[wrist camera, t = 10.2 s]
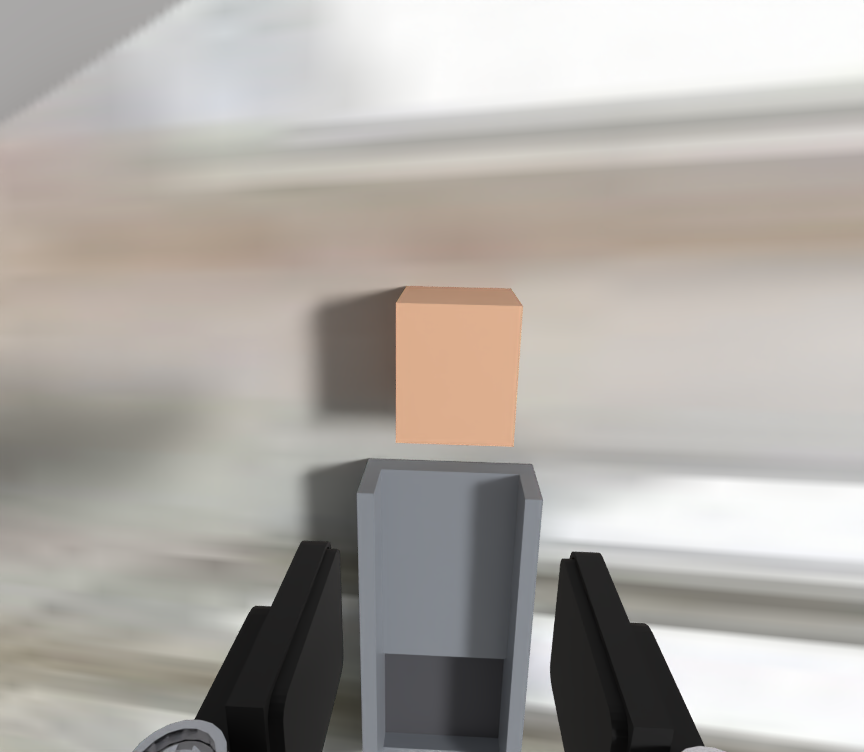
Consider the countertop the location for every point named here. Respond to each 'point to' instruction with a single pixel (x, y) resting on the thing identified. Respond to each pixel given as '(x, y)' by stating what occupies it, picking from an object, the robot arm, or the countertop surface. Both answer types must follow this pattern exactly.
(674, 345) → the countertop surface
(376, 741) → the grey railed tray
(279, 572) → the countertop surface
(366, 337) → the countertop surface
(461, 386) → the block
